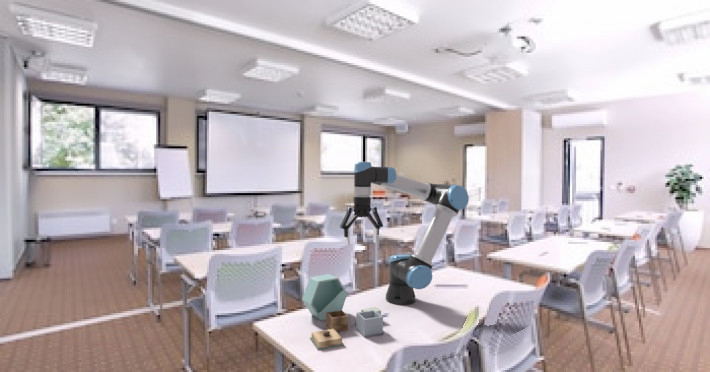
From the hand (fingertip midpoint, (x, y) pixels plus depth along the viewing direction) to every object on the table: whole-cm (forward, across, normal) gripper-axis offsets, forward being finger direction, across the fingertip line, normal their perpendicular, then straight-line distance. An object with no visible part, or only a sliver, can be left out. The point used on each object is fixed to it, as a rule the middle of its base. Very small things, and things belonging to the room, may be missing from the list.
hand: (361, 243), depth 164 cm
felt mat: (+33, +23, +19) cm, 44 cm away
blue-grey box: (+33, +4, +17) cm, 37 cm away
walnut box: (+33, +15, +9) cm, 37 cm away
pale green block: (+33, -2, +7) cm, 34 cm away
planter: (+33, +15, -6) cm, 37 cm away
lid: (+32, +23, +19) cm, 44 cm away
